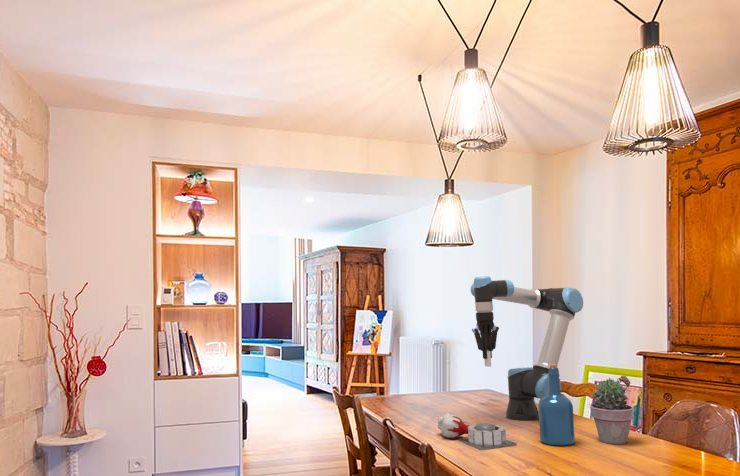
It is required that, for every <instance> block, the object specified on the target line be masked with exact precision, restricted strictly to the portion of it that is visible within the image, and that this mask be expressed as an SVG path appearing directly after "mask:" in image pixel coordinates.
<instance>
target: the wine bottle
mask: <svg viewBox="0 0 740 476" xmlns="http://www.w3.org/2000/svg"><path fill="white" fill-rule="evenodd" d="M548 376H549V393H548V395H546V396H544V397H542V398H541V399H540V398H539V400H538V401H539V402H538V412H539V418H538V423H539V440H540V442H541V443H544V444H545V445H550V446H555V447H564V446H571V445H574V443H575V441H576V439H575V438H576V437H575V435H576V434H575V420H574V418H575V417H574V405H573V402H572V401H571V399H570V398H568V397H567V396H566V395H565V394H563V393H562V392H561V390H560V383H561V380H560V381H559V378H560V371H559V367H558V365H556V364H550V368H549V373H548Z"/></svg>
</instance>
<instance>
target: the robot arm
mask: <svg viewBox="0 0 740 476" xmlns="http://www.w3.org/2000/svg"><path fill="white" fill-rule="evenodd" d="M470 294H471V295H472V296H473V297H474V304H475V306H474V307H475V319H476V326H475V327H473V328H472V329H471V331H472V332H473V334H474V338H475V342H476V345H477V349H478V350H479V351H482V358H483V359H484V360H483V361H484V366H485V367H490V368H491V367H492V358H493V353H492V352H494V350H495V349H496V346H497V337H498V332H499V330H500V327H499V326H496V325H495V323H494V318H495V317H494V312H493V310H494V304H493V300H495V301H502V302H507V303H513V304H521V305H527V306H529V307H530V308H532V309H537V310H541V311H544V312H548V313H549V314H550V319H549V321H548V325H547V329H546V333H545V336H544V341H543V344H542V347H541V350H540V354H539V357H538V361H537V363H535V364H533V365H532V367H516V368H515V367H514V368H509V369H508V371H507V382H508V383H507V386H508V403H507V406H506V410H505V417H506V418H508V419H509V420H515V421H516V420H517V421H533V420H539V409H538V408H537V407H538V406H537V404H536V402H535V398H536V399H539V400H540V399H541V398H542V397H544V396H546V395H548V393H549V376H548V373H549V368H550V364H556V365H557V366H558V364H559V362H560V358H561V354H562V351H563V346H564V343H565V340H566V336H567V331H568V329H569V325H570V321H572V320H574V319H575V315H576V314H577V313H579V312H580V311H582V310H583V307H584V299H583V298H584V297H583V296H582V294H581V292H580V291H579V290H578V289H576V288H574V287H555V288H553V287H551V288H531V289H529V288H524V287H523V288H522V287H516V286H515V285H514V283H513V282H512V281H511V280H509V279H507V280H506V279H500V280H492V278H491V276H476V277H474V279H473V283H472V284H471V286H470ZM559 381H560V391H562V382H561V378H560V377H559Z"/></svg>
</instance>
